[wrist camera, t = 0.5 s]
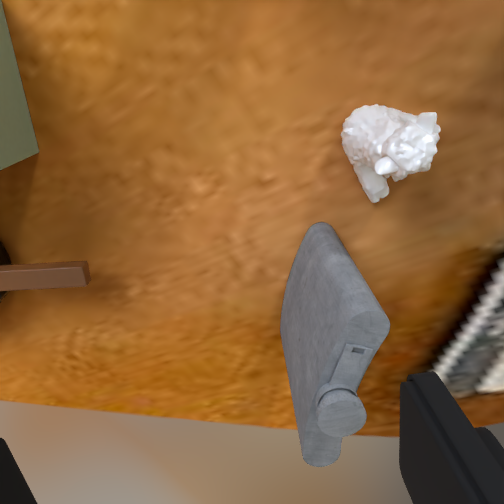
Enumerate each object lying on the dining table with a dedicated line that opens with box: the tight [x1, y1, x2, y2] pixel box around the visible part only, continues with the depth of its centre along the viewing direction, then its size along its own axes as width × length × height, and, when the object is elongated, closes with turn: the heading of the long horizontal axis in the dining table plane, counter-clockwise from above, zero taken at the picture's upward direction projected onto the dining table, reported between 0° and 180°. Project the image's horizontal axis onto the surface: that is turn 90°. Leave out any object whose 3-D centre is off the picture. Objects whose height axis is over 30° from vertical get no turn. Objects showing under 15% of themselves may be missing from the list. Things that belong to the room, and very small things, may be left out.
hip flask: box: [280, 222, 390, 467], centre depth 39 cm, size 16×4×20 cm, turn 169°
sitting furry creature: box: [341, 104, 440, 203], centre depth 36 cm, size 10×9×12 cm
